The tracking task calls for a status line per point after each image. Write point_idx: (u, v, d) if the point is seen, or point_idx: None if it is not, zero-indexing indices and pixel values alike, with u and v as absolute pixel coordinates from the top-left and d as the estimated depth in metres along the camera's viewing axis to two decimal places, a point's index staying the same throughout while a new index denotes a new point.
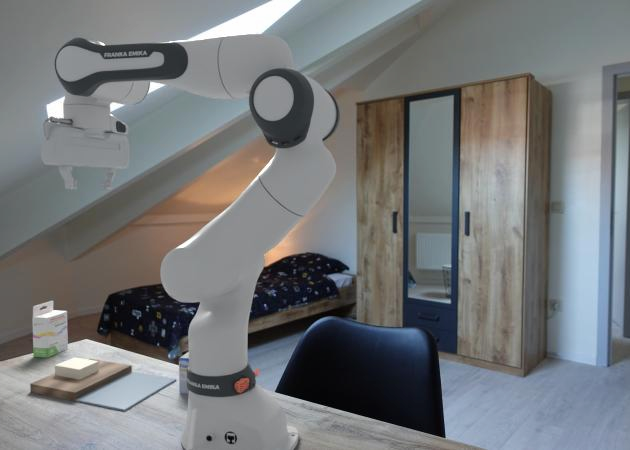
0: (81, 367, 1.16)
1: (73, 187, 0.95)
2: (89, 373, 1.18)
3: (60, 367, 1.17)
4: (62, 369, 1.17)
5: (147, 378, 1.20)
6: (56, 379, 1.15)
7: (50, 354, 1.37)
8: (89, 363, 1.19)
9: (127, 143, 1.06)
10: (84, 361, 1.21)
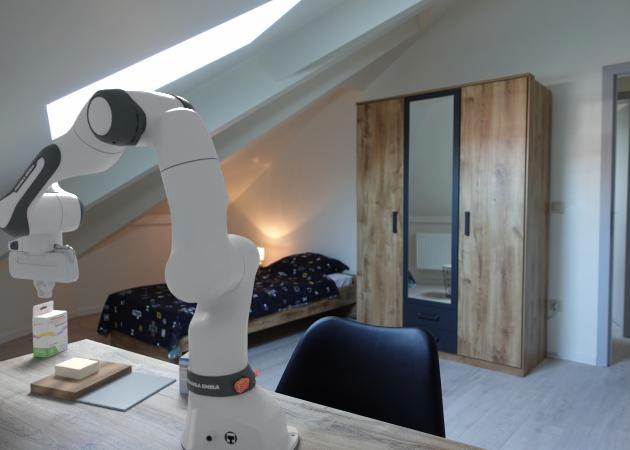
0: (81, 367, 1.16)
1: None
2: (89, 373, 1.18)
3: (60, 367, 1.17)
4: (62, 369, 1.17)
5: (147, 378, 1.20)
6: (56, 379, 1.15)
7: (50, 354, 1.37)
8: (89, 363, 1.19)
9: None
10: (84, 361, 1.21)
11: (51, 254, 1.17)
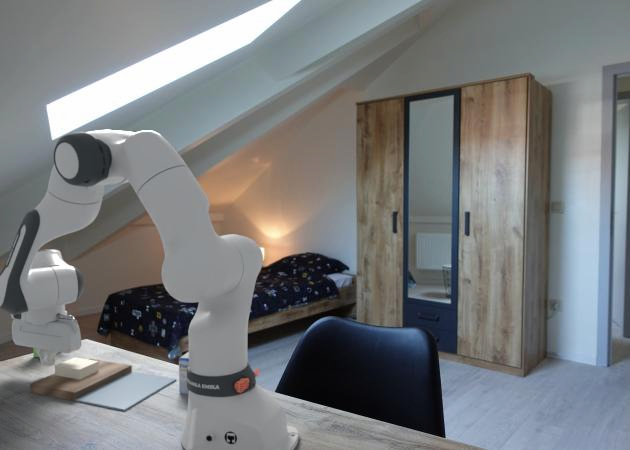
0: (81, 367, 1.16)
1: None
2: (89, 373, 1.18)
3: (60, 367, 1.17)
4: (62, 369, 1.17)
5: (147, 378, 1.20)
6: (56, 379, 1.15)
7: None
8: (89, 363, 1.19)
9: None
10: (84, 361, 1.21)
11: (54, 324, 1.19)
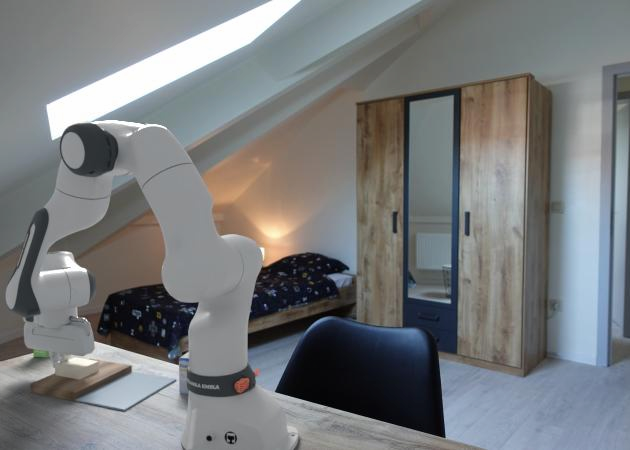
0: (81, 367, 1.16)
1: None
2: (89, 373, 1.18)
3: (60, 367, 1.17)
4: (62, 369, 1.17)
5: (147, 378, 1.20)
6: (56, 379, 1.15)
7: None
8: (89, 363, 1.19)
9: None
10: (84, 361, 1.21)
11: (67, 327, 1.17)
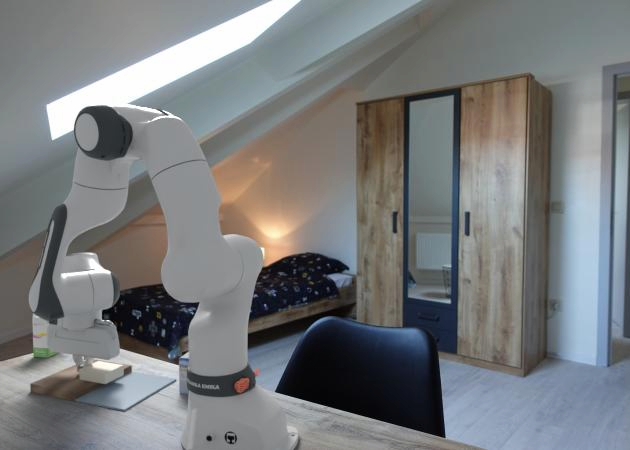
0: (106, 372, 1.13)
1: None
2: (114, 377, 1.15)
3: (84, 371, 1.15)
4: (87, 373, 1.14)
5: (147, 378, 1.20)
6: (56, 379, 1.15)
7: (50, 354, 1.37)
8: (114, 367, 1.16)
9: None
10: (108, 365, 1.18)
11: (92, 330, 1.14)
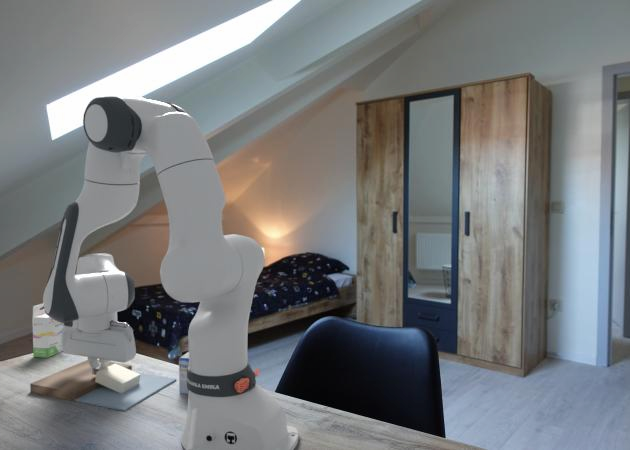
0: (124, 381, 1.12)
1: None
2: (130, 386, 1.14)
3: (101, 376, 1.13)
4: (104, 378, 1.13)
5: (147, 378, 1.20)
6: (56, 379, 1.15)
7: (50, 354, 1.37)
8: (131, 376, 1.15)
9: None
10: (125, 371, 1.16)
11: (108, 332, 1.13)
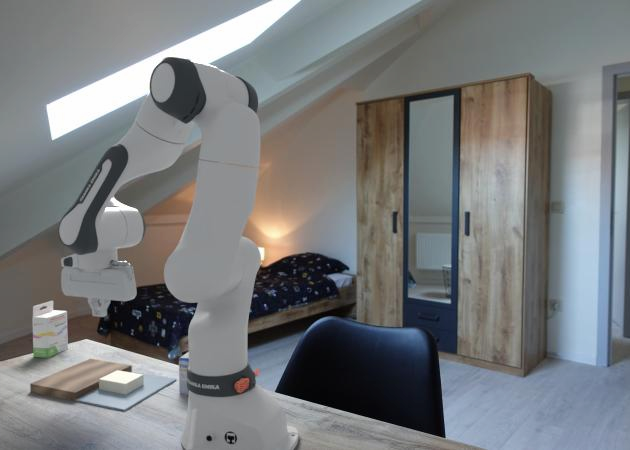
0: (127, 382, 1.12)
1: None
2: (134, 387, 1.13)
3: (104, 381, 1.13)
4: (107, 383, 1.12)
5: (147, 378, 1.20)
6: (56, 379, 1.15)
7: (50, 354, 1.37)
8: (134, 377, 1.14)
9: None
10: (128, 374, 1.16)
11: (108, 271, 1.11)
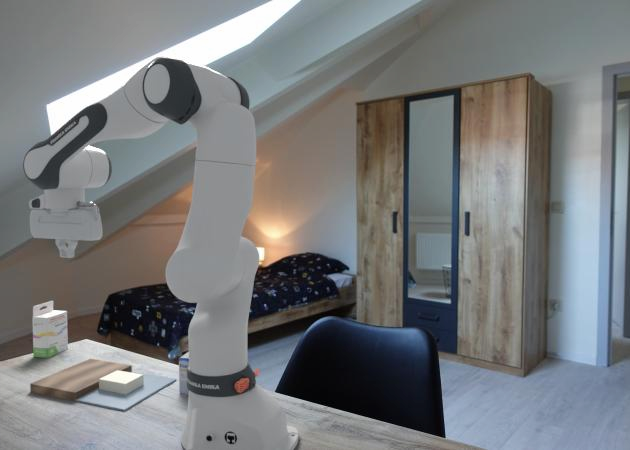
0: (127, 382, 1.12)
1: None
2: (134, 387, 1.13)
3: (104, 381, 1.13)
4: (107, 383, 1.12)
5: (147, 378, 1.20)
6: (56, 379, 1.15)
7: (50, 354, 1.37)
8: (134, 377, 1.14)
9: None
10: (128, 374, 1.16)
11: (74, 211, 1.14)
